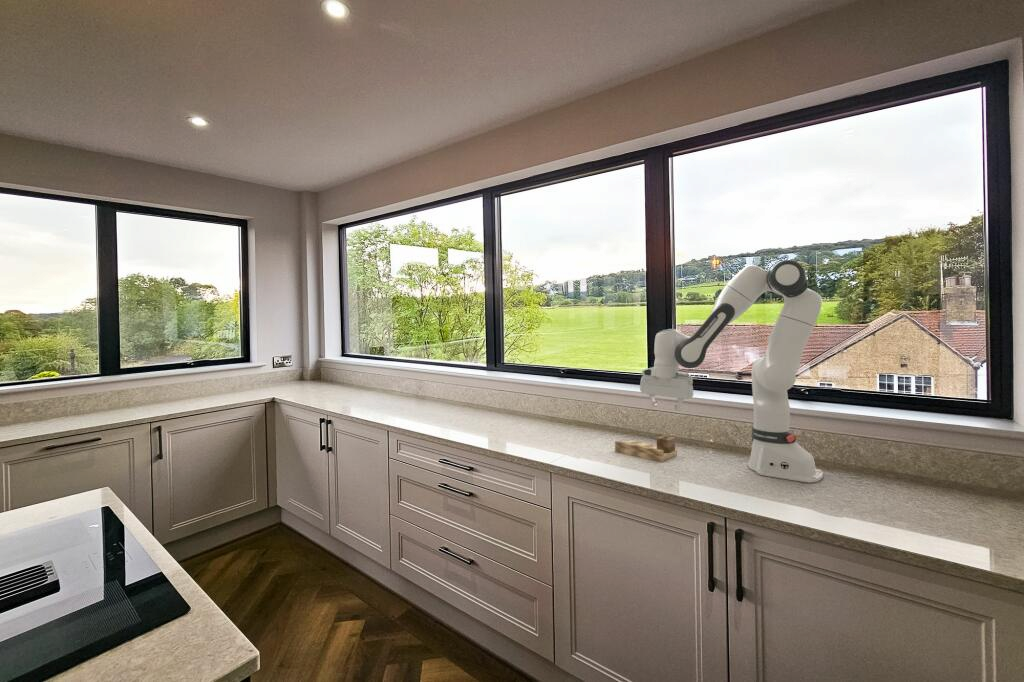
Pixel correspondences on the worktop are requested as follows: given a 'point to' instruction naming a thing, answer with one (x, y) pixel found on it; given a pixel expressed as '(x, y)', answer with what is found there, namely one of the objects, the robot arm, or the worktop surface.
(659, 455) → the board
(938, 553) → the worktop surface
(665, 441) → the brown wooden block
